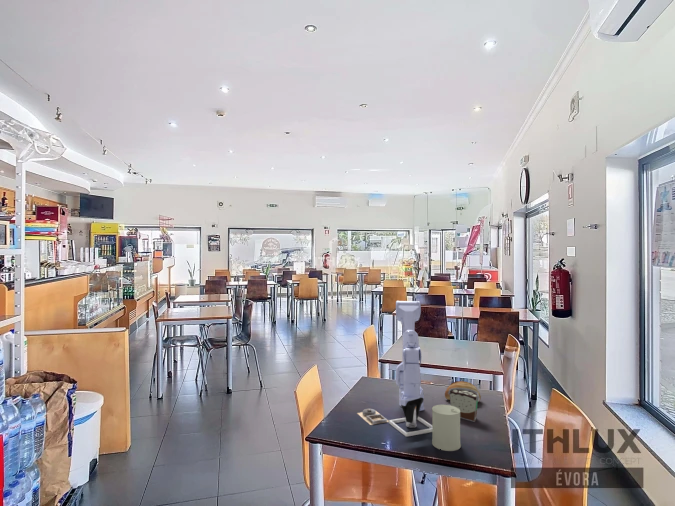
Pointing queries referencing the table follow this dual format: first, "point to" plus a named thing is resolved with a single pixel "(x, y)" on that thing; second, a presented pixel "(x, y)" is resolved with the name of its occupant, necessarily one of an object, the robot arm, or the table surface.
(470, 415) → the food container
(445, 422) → the can
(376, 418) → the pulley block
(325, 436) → the table surface
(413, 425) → the glass shaker
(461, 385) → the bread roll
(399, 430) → the white square frame
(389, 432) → the table surface
